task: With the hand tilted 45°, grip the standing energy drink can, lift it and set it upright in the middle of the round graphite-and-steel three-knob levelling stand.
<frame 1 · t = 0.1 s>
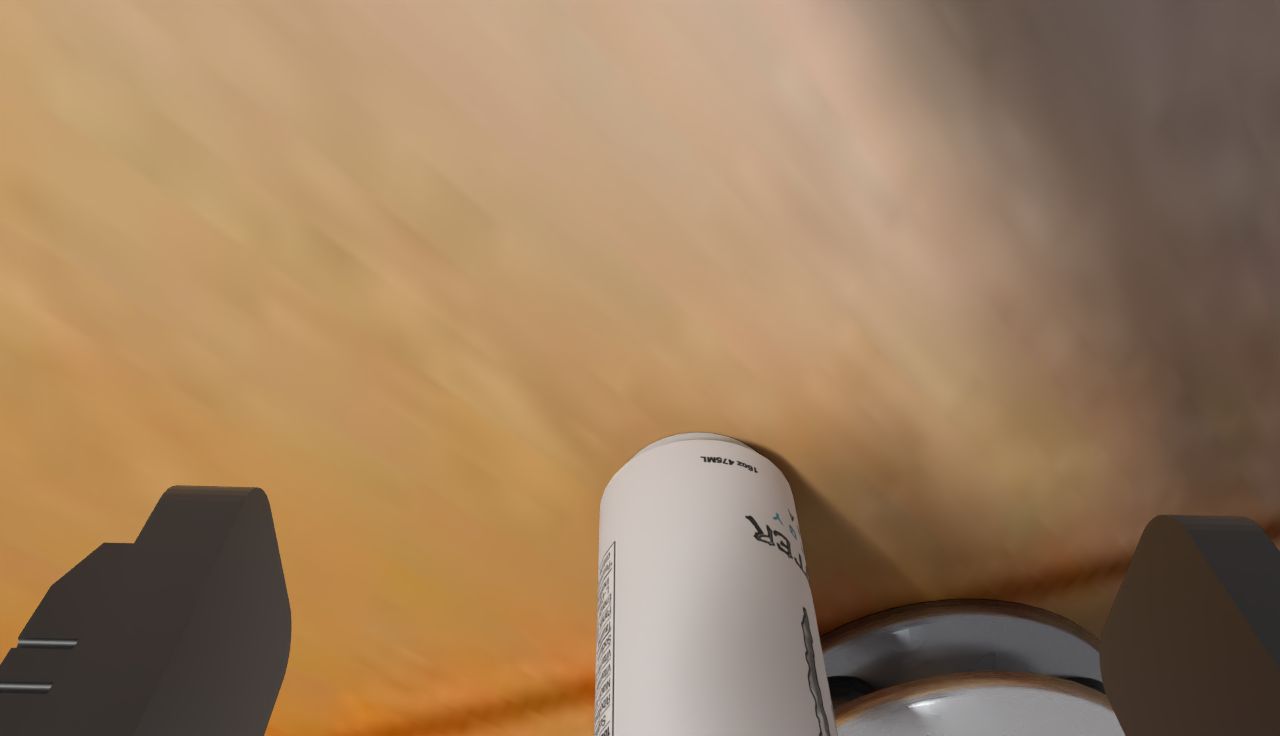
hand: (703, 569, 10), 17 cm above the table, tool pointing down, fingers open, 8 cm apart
energy drink can: (694, 486, 33), on the table
levelling stand: (932, 718, 40), on the table
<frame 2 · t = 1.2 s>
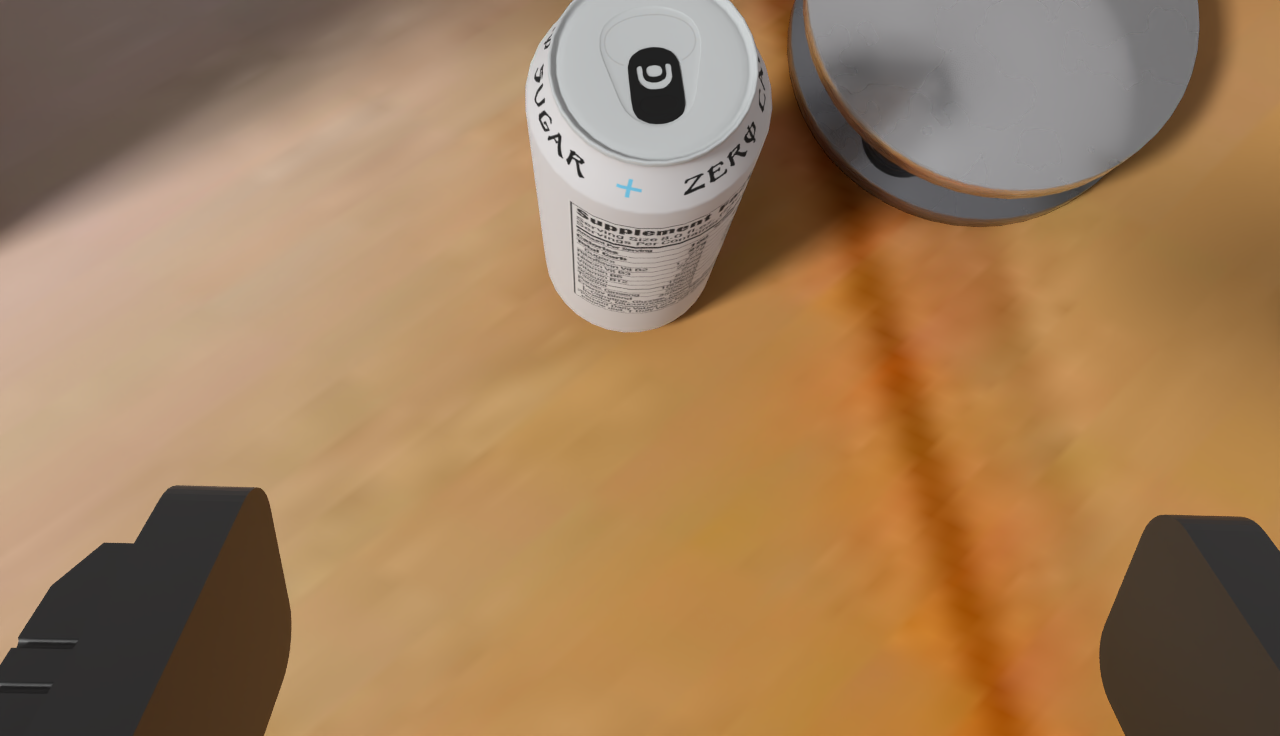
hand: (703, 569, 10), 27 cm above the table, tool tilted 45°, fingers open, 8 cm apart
energy drink can: (628, 260, 38), on the table
levelling stand: (964, 55, 40), on the table
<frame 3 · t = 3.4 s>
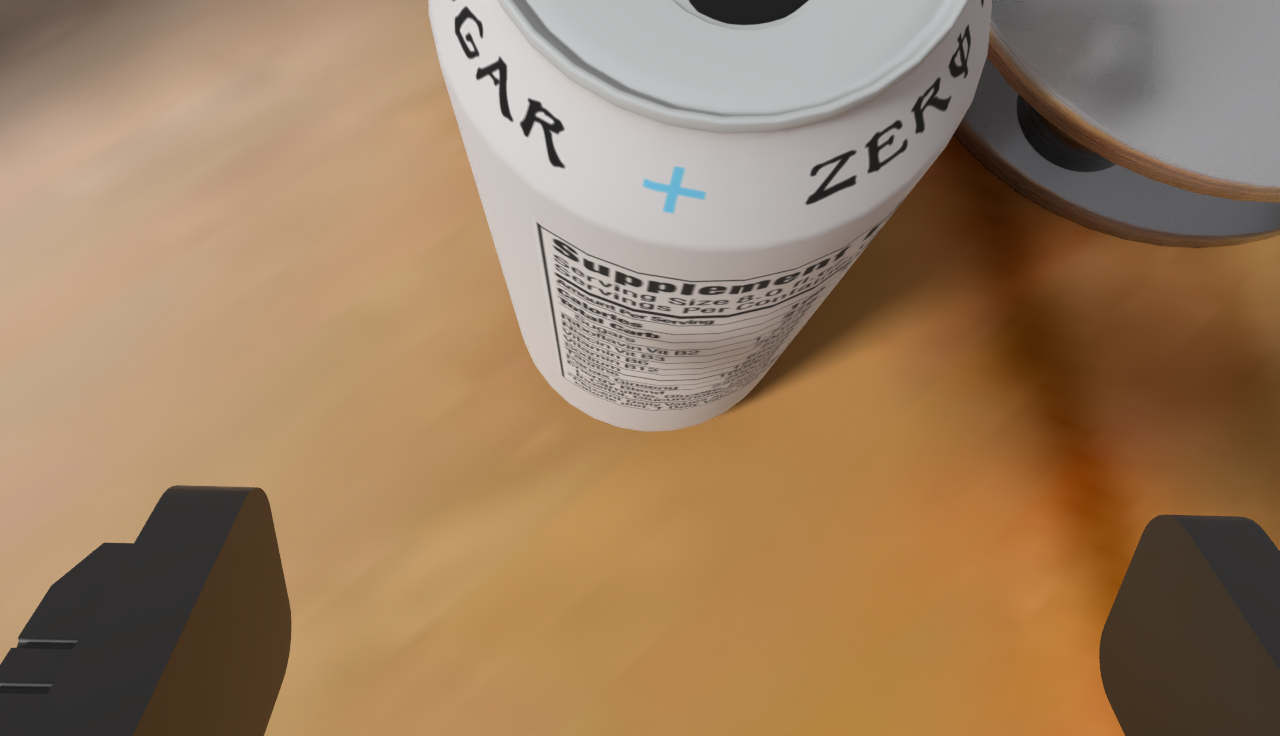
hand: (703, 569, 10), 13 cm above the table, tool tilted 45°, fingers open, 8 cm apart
energy drink can: (650, 311, 24), on the table
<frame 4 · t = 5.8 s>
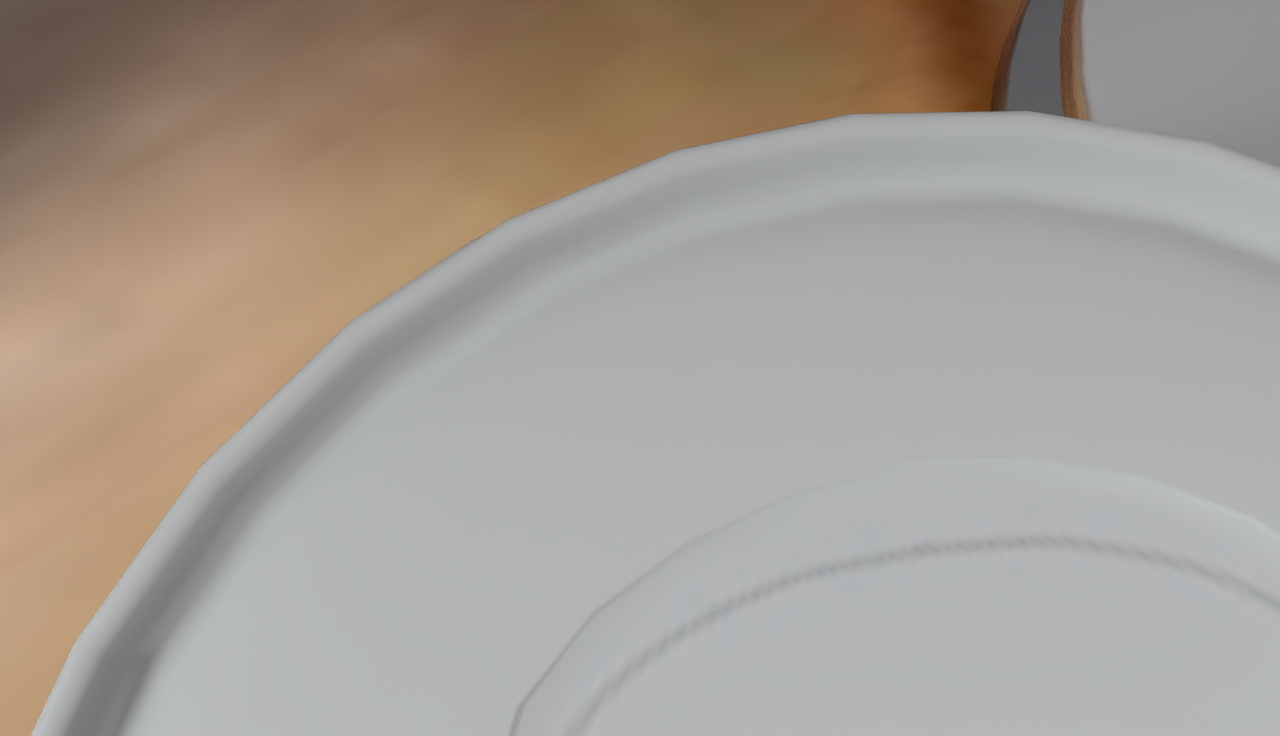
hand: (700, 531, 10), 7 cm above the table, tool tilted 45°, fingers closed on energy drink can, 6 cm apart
energy drink can: (657, 659, 17), on the table, touching gripper
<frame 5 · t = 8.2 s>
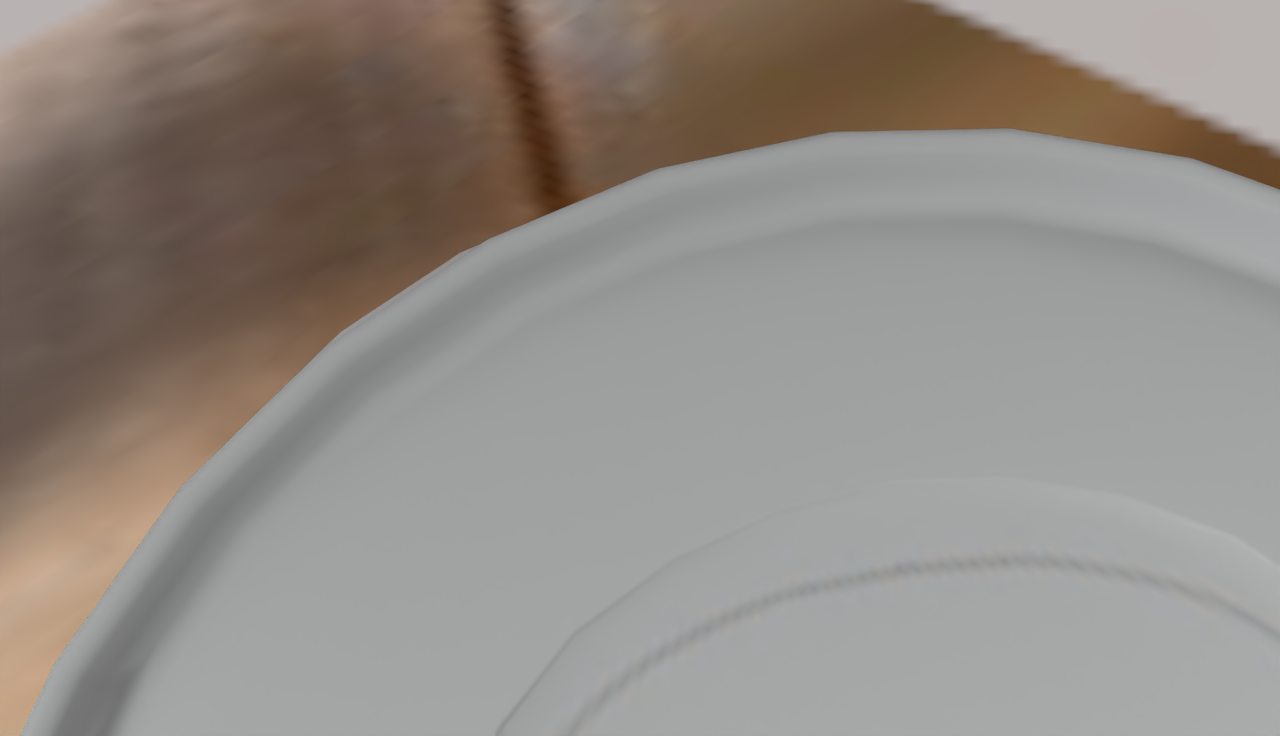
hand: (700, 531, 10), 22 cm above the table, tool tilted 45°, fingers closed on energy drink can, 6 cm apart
energy drink can: (655, 662, 17), point 15 cm above the table, touching gripper
when the fingers open (13 cm above the table, at t = 11.1 s): energy drink can drops 1 cm, resting on levelling stand.
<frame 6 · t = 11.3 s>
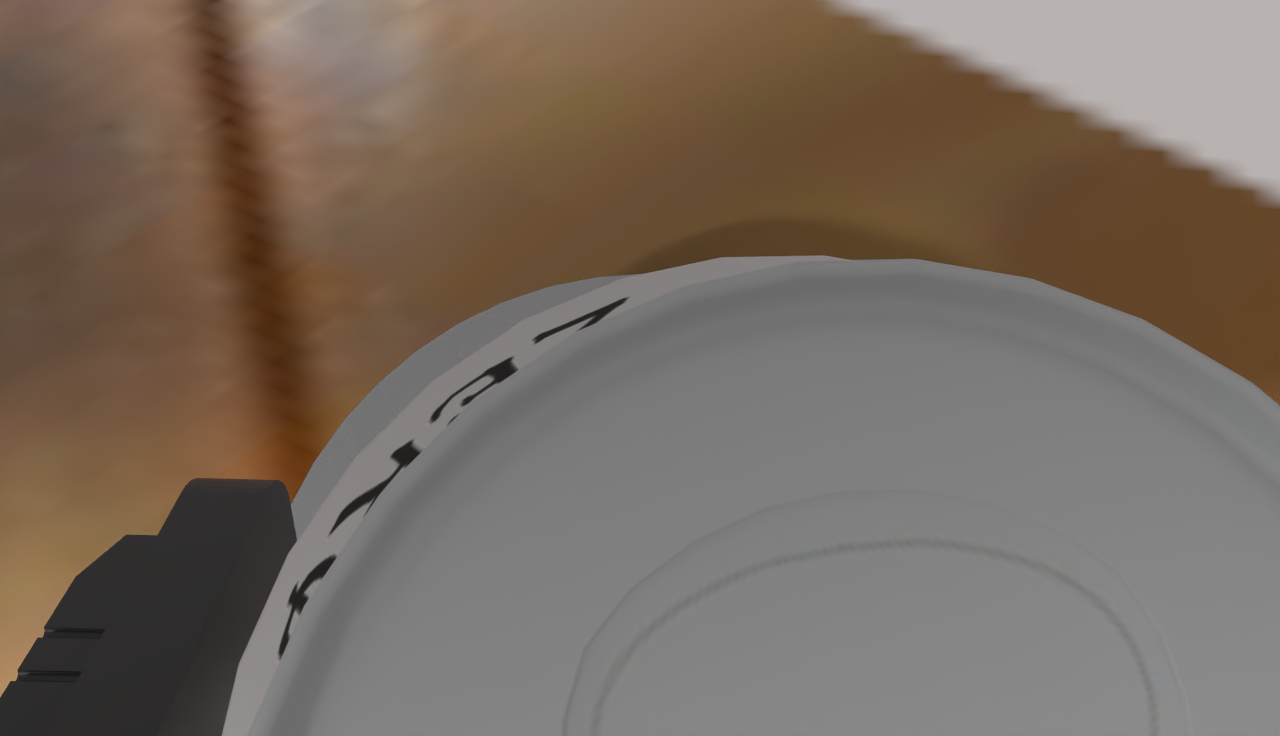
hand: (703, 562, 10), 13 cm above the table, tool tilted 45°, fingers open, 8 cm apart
energy drink can: (650, 667, 18), point 4 cm above the table, touching levelling stand
levelling stand: (643, 641, 22), on the table
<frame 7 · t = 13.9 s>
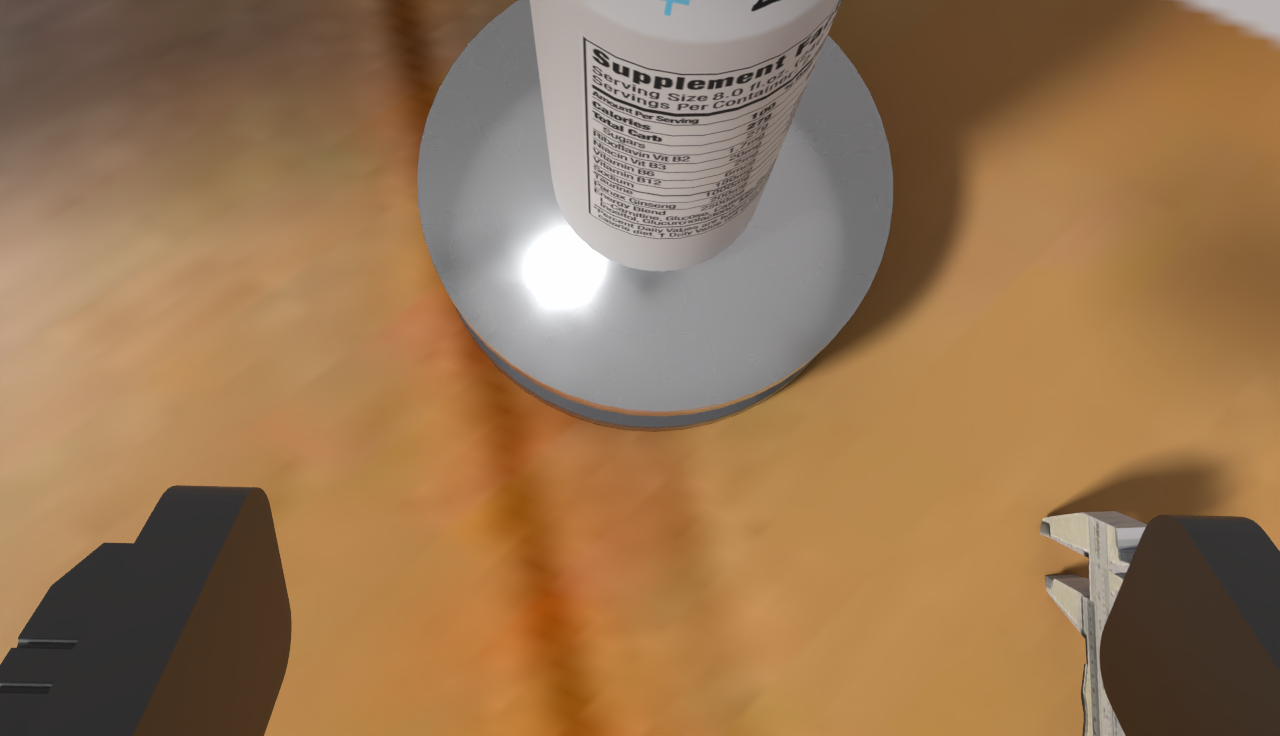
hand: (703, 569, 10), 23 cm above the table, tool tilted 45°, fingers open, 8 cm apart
energy drink can: (655, 185, 31), point 4 cm above the table, touching levelling stand
levelling stand: (650, 222, 34), on the table
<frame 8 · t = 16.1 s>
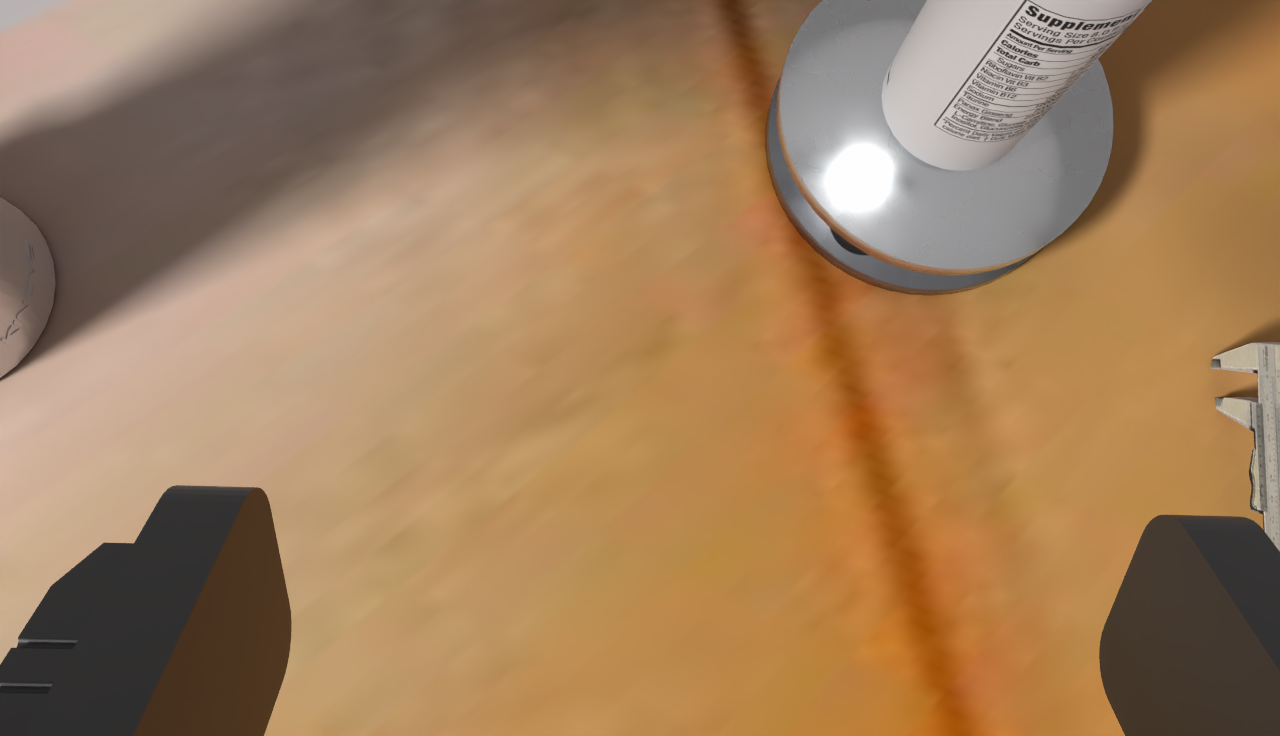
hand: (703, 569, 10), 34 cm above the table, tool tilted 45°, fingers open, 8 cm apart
energy drink can: (945, 114, 43), point 4 cm above the table, touching levelling stand
levelling stand: (918, 146, 47), on the table
caliper: (1250, 594, 44), on the table
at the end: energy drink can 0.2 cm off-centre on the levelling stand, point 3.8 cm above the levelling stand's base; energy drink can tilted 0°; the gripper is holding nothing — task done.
